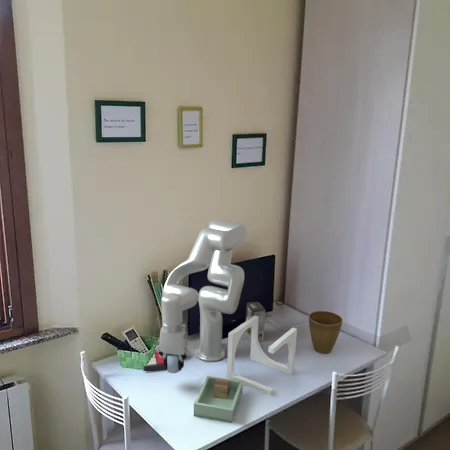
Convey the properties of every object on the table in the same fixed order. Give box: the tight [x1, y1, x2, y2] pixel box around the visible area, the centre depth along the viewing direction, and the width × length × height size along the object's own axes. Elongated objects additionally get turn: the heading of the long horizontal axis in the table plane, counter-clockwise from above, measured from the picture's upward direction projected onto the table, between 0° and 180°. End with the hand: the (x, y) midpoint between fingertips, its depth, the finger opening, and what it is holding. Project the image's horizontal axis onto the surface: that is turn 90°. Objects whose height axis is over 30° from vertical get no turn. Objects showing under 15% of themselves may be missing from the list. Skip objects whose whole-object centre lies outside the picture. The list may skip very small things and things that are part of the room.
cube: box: [214, 377, 230, 399], centre depth 176 cm, size 5×5×5 cm
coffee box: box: [244, 301, 267, 342], centre depth 221 cm, size 9×6×16 cm
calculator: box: [143, 351, 168, 372], centre depth 200 cm, size 11×4×15 cm
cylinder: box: [166, 353, 180, 374], centre depth 180 cm, size 5×5×7 cm
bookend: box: [226, 315, 298, 397], centre depth 190 cm, size 20×20×20 cm
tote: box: [193, 375, 244, 424], centre depth 172 cm, size 18×14×5 cm
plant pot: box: [308, 310, 344, 355], centre depth 211 cm, size 15×15×16 cm
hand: (173, 367), depth 181 cm, fingers closed on cylinder, 4 cm apart
